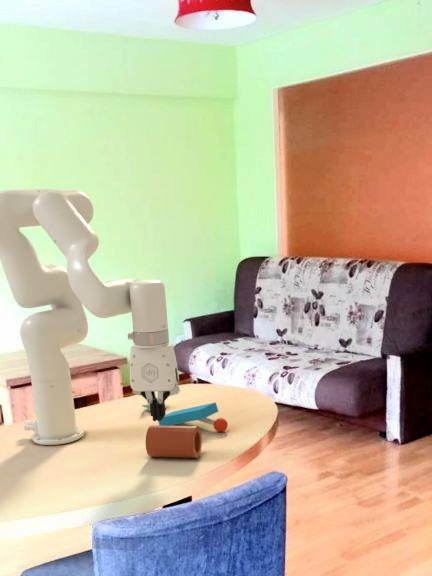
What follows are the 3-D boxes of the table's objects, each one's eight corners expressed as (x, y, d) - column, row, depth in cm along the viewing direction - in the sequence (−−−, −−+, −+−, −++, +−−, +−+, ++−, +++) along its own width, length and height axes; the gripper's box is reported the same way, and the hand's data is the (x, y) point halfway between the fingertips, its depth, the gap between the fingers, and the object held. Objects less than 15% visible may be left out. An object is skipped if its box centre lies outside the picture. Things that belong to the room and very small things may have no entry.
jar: (144, 431, 162) (192, 432, 159) (154, 421, 168) (200, 422, 166) (146, 460, 164) (194, 462, 161) (156, 450, 170) (202, 451, 168)
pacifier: (170, 406, 207) (150, 405, 209) (169, 384, 205) (149, 383, 207) (160, 413, 200) (140, 412, 202) (159, 391, 198) (138, 390, 200)
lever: (165, 444, 188) (220, 434, 177) (157, 418, 187) (212, 407, 177) (180, 436, 194) (235, 426, 183) (173, 411, 193) (227, 399, 182)
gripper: (112, 342, 157) (121, 423, 163) (179, 341, 154) (185, 424, 159) (125, 335, 164) (132, 414, 170) (189, 334, 161) (195, 414, 166)
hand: (158, 419), depth 164 cm, fingers closed
